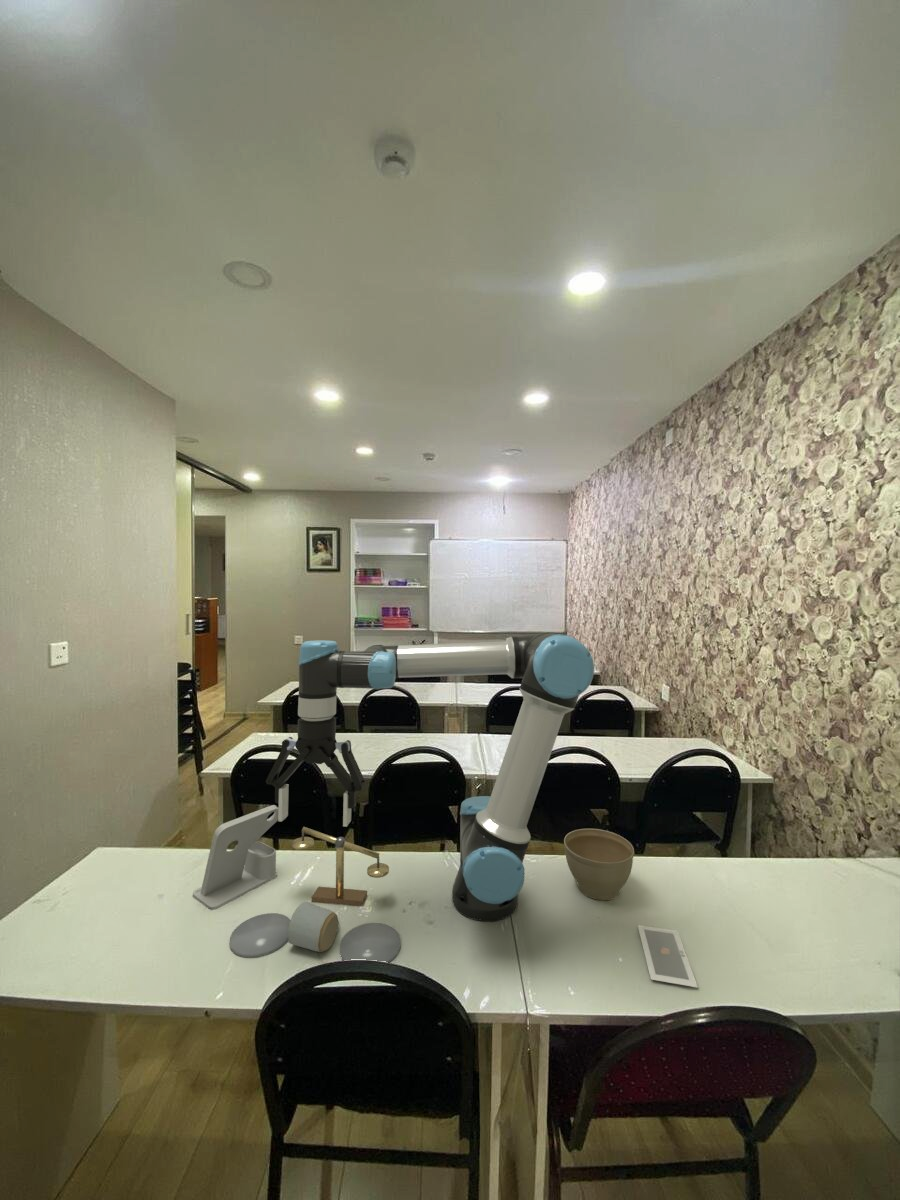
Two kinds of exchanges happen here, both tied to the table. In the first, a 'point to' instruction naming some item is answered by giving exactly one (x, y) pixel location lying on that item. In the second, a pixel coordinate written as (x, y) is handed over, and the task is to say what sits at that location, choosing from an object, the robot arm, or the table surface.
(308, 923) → the ceramic mug
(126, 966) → the table surface
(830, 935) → the table surface
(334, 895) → the balance
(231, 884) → the phone holder
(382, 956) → the dish low side
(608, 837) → the planter bowl
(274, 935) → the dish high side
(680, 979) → the touchpad
